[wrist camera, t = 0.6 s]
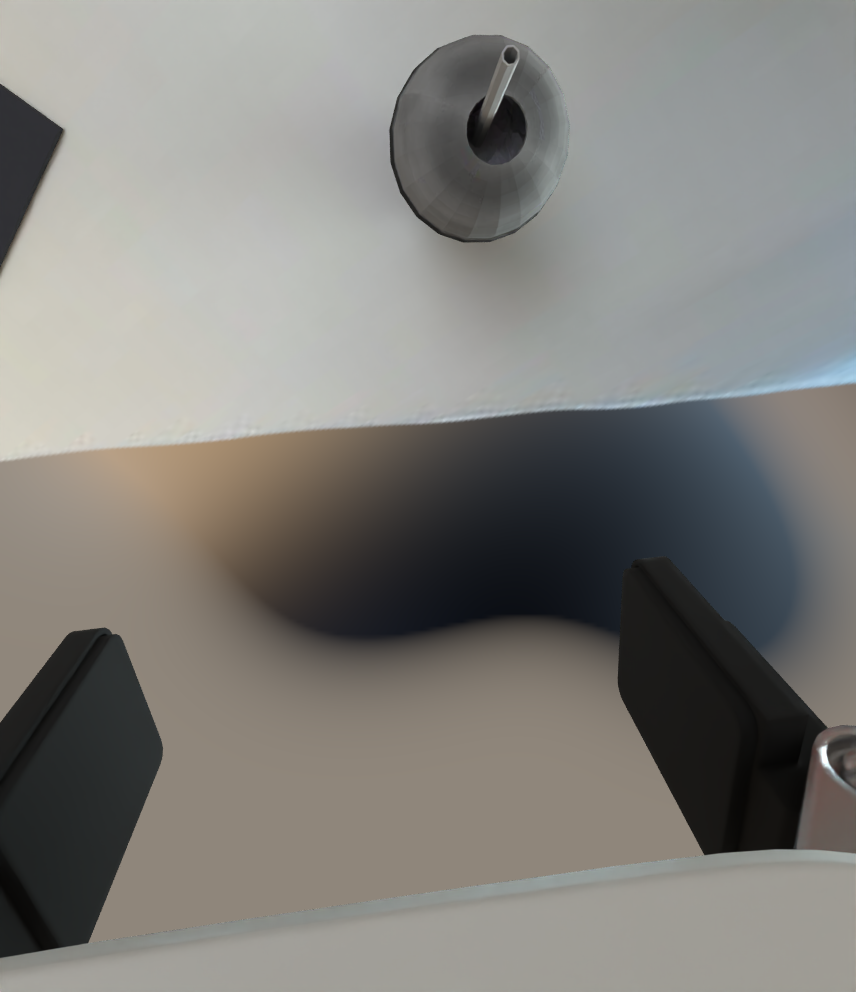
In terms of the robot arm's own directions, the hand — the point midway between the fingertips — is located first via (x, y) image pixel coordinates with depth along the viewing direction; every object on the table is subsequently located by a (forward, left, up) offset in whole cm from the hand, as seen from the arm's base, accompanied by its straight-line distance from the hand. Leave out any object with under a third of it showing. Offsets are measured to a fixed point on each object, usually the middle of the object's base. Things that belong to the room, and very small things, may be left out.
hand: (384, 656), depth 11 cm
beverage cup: (-11, -3, -30) cm, 32 cm away
